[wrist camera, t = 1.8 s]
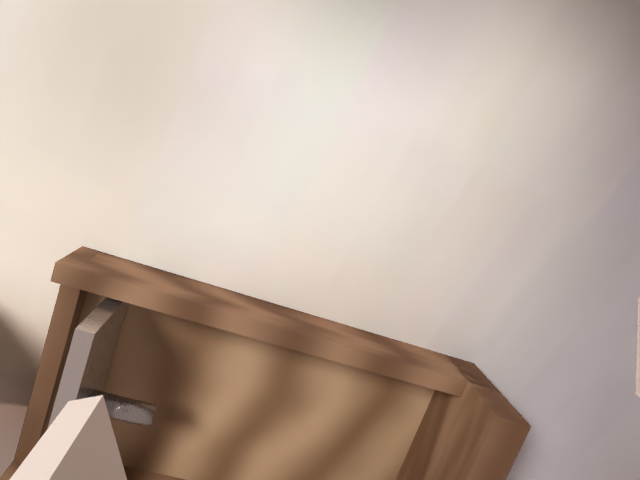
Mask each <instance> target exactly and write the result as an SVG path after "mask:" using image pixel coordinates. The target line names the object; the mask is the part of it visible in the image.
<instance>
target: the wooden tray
mask: <svg viewBox="0 0 640 480" xmlns="http://www.w3.org/2000/svg"><path fill="white" fill-rule="evenodd" d="M51 281H52V282H55V283H59V284H61V285H60V289H59V293H58V296H57V300H56V304H55V308H54V311H53V315H52V319H51V323H50V326H49V330H48V334H47V338H46V341H45V345H44V349H43V353H42V356H41V360H40V364H39V368H38V371H37V375H36V379H35V383H34V387H33V390H32V394H31V398H30V402H29V405H28V409H27V413H26V417H25V421H24V424H23V428H22V432H21V436H20V439H19V443H18V447H17V451H16V454H15V458H14V461H13V462H12V463H11V465H10V466H9V467H8V468H7V470H6V471H5V472H4V474H3V475H2V476H1V477H0V480H10V478H11V477H12V476H13V474H14V473H15V472H16V470H17V469H18V468H19V466H20V465H21V464H22V462H23V461H24V460H25V459H26V457H27V456H28V455H29V453H30V452H31V451H32V449H33V448H34V447H35V445H36V444H37V443H38V441H39V440H40V439H41V437H42V436H43V435H44V433H45V432H46V431H47V428H48V425H49V421H50V418H51V414H52V410H53V407H54V403H55V400H56V396H57V392H58V389H59V385H60V381H61V378H62V374H63V371H64V367H65V363H66V360H67V356H68V353H69V349H70V345H71V342H72V338H73V335H74V331H75V328H76V327H77V326H78V325H79V324H80V323H81V322H82V321H83V320H84V319H85V318H86V317H87V316H88V315H89V314H90V313H91V312H92V311H93V310H94V309H95V308H96V307H97V306H98V305H99V304H100V303H101V302H102V301H103V300H104V299H105V298H106V297H108V298H112V299H115V300H119V301H123V302H126V303H128V307H127V310H126V313H125V317H124V320H123V324H122V327H121V330H120V334H119V337H118V340H117V344H116V347H115V351H114V354H113V357H112V361H111V364H110V367H109V371H108V374H107V377H106V381H105V384H104V388H103V392H107V393H111V394H115V395H120V396H124V397H128V398H132V399H136V400H140V401H144V402H148V403H152V404H156V405H157V409H156V412H155V415H154V418H153V420H152V423H151V426H150V427H146V426H141V425H137V424H133V423H129V422H124V421H120V420H116V419H112V418H110V421H111V425H112V428H113V432H114V435H115V439H116V442H117V446H118V449H119V453H120V456H121V460H122V464H123V467H124V471H125V474H126V478H127V480H505V479H506V477H507V475H508V473H509V471H510V469H511V467H512V465H513V463H514V461H515V459H516V457H517V455H518V453H519V451H520V448H521V446H522V444H523V442H524V440H525V438H526V436H527V434H528V432H529V430H530V428H531V426H530V425H529V423H528V422H527V421H526V420H525V419H524V418H523V417H522V416H521V415H520V414H519V412H518V411H517V410H516V409H515V408H514V407H513V406H512V405H511V404H510V403H509V401H508V400H507V399H506V398H505V397H504V396H503V395H502V394H501V393H500V392H499V390H498V389H497V388H496V387H495V386H494V385H493V384H492V383H491V382H490V381H489V379H488V378H487V377H486V376H485V375H484V374H483V373H482V372H481V371H480V370H479V368H478V367H477V366H476V365H475V364H474V363H471V362H467V361H464V360H461V359H457V358H454V357H451V356H447V355H444V354H441V353H437V352H434V351H431V350H427V349H424V348H421V347H417V346H414V345H411V344H407V343H404V342H401V341H397V340H394V339H390V338H387V337H384V336H380V335H377V334H374V333H370V332H367V331H364V330H360V329H357V328H354V327H350V326H347V325H344V324H340V323H337V322H334V321H330V320H327V319H324V318H320V317H317V316H314V315H310V314H307V313H304V312H300V311H297V310H294V309H290V308H287V307H284V306H280V305H277V304H273V303H270V302H267V301H263V300H260V299H257V298H253V297H250V296H247V295H243V294H240V293H237V292H233V291H230V290H227V289H223V288H220V287H217V286H213V285H210V284H207V283H203V282H200V281H197V280H193V279H190V278H187V277H183V276H180V275H177V274H173V273H170V272H167V271H163V270H160V269H157V268H153V267H150V266H146V265H143V264H140V263H136V262H133V261H130V260H126V259H123V258H120V257H116V256H113V255H110V254H106V253H103V252H100V251H96V250H93V249H90V248H86V247H83V246H82V247H81V248H79V249H77V250H76V251H74V252H72V253H71V254H69V255H67V256H66V257H64V258H62V259H60V260H59V261H57V262H55V266H54V270H53V274H52V278H51Z"/></svg>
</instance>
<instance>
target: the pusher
mask: <svg viewBox="0 0 640 480" xmlns="http://www.w3.org/2000/svg"><path fill="white" fill-rule="evenodd" d="M127 307H128V303H126V302H123V301H119V300H115V299H112V298H108V297H106V298H105V299H104V300H103V301H102V302H101V303H100V304H99V305H98V306H97V307H96V308H95V309H94V310H93V311H92V312H91V313H90V314H89V315H88V316H87V317H86V318H85V319H84V320H83V321H82V322H81V323H80V324H79V325H78V326H77V327H76V328H75V331H74V335H73V338H72V342H71V345H70V349H69V353H68V356H67V360H66V363H65V367H64V371H63V374H62V378H61V381H60V385H59V389H58V392H57V396H56V400H55V403H54V407H53V410H52V414H51V418H50V421H49V425H48V428H49V427H50V425H51V424H52V423H53V421H54V420H55V419H56V417H57V416H58V415H59V413H60V412H61V411H62V409H63V408H64V407H65V405H66V404H67V403H68V401H73V400H78V399H84V398H89V397H95V396H100V395H103V396H104V400H105V403H106V407H107V411H108V414H109V418H112V419H116V420H120V421H124V422H129V423H133V424H137V425H141V426H146V427H150V426H151V423H152V420H153V418H154V415H155V412H156V409H157V405H156V404H152V403H148V402H144V401H140V400H136V399H132V398H128V397H124V396H120V395H115V394H111V393H107V392H103V388H104V384H105V381H106V377H107V374H108V371H109V367H110V364H111V361H112V357H113V354H114V351H115V347H116V344H117V340H118V337H119V334H120V330H121V327H122V324H123V320H124V317H125V313H126V310H127ZM48 428H47V429H48Z"/></svg>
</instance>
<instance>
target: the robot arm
mask: <svg viewBox="0 0 640 480" xmlns="http://www.w3.org/2000/svg"><path fill="white" fill-rule="evenodd" d="M635 395H637V396H638V397H639V398H640V297H639V298H638V326H637V359H636V392H635ZM10 480H127V478H126V474H125V471H124V467H123V464H122V460H121V456H120V453H119V449H118V446H117V442H116V439H115V435H114V432H113V428H112V425H111V421H110V418H109V414H108V411H107V407H106V403H105V400H104V396H103V395H100V396H95V397H89V398H84V399H78V400H73V401H68V403H67V404H66V405H65V407H64V408H63V409H62V411H61V412H60V413H59V415H58V416H57V417H56V419H55V420H54V421H53V423H52V424H51V425H50V427H49V428H48V429H47V431H46V432H45V433H44V435H43V436H42V437H41V439H40V440H39V441H38V443H37V444H36V445H35V447H34V448H33V449H32V451H31V452H30V453H29V455H28V456H27V457H26V459H25V460H24V461H23V462H22V464H21V465H20V466H19V468H18V469H17V470H16V472H15V473H14V474H13V476H12V477H11V478H10Z"/></svg>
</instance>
